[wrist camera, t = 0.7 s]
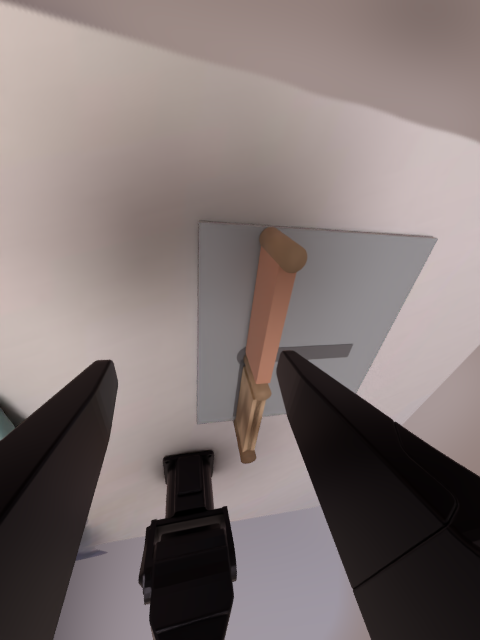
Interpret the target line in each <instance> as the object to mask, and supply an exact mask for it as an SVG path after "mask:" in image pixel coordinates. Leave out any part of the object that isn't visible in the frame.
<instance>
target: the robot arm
mask: <svg viewBox="0 0 480 640" xmlns="http://www.w3.org/2000/svg"><path fill="white" fill-rule="evenodd" d="M276 375H277V379H278V383H279V387H280V391H281V395H282V398H283V402H284V406H285V410H286V414H287V417H288V420H289V423H290V426H291V428H292V431H293V434H294V436H295V439H296V441H297V444H298V447H299V449H300V452H301V455H302V457H303V460H304V463H305V465H306V468H307V471H308V473H309V476H310V478H311V481H312V484H313V486H314V489H315V492H316V494H317V497H318V500H319V502H320V505H321V507H322V510H323V513H324V515H325V518H326V521H327V523H328V526H329V529H330V531H331V534H332V536H333V539H334V542H335V544H336V547H337V550H338V552H339V555H340V558H341V560H342V563H343V566H344V568H345V571H346V574H347V576H348V579H349V582H350V584H351V587H352V588H353V592H354V595H355V598H356V601H357V603H358V606H359V608H360V611H361V614H362V616H363V619H364V622H365V624H366V627H367V630H368V632H369V635H370V638H371V640H480V477H479V476H478V475H476V474H475V473H473V472H472V471H470V470H468V469H467V468H465V467H463V466H462V465H460V464H459V463H457V462H455V461H454V460H452V459H451V458H449V457H448V456H446V455H444V454H443V453H441V452H440V451H438V450H436V449H435V448H434V447H432V446H430V445H429V444H428V443H426V442H424V441H423V440H421V439H420V438H419V437H417V436H416V435H414V434H413V433H411V432H410V431H408V430H407V429H406V428H404V427H403V426H401V425H400V424H398V423H397V422H394V421H393V420H392V419H391V418H390V417H388V416H387V415H385V414H384V413H383V412H381V411H380V410H378V409H377V408H375V407H374V406H373V405H371V404H370V403H368V402H367V401H365V400H364V399H363V398H361V397H360V396H358V395H357V394H355V393H354V392H353V391H351V390H350V389H348V388H347V387H345V386H344V385H343V384H341V383H340V382H338V381H337V380H335V379H334V378H333V377H331V376H330V375H328V374H327V373H325V372H324V371H323V370H321V369H320V368H318V367H317V366H315V365H314V364H313V363H311V362H310V361H308V360H307V359H305V358H304V357H303V356H301V355H300V354H298V353H297V352H295V351H293V350H285V351H282V352H281V353H280V356H279V360H278V364H277V368H276ZM117 389H118V380H117V375H116V371H115V367H114V363H113V361H112V360H97V361H95V362H93V363H92V364H91V365H90V366H89V367H87V368H86V369H85V370H84V371H83V372H82V373H80V374H79V375H78V376H77V377H76V378H74V379H73V380H72V381H71V382H70V383H68V384H67V385H66V386H65V387H64V388H62V389H61V390H60V391H59V392H58V393H57V394H55V395H54V396H53V397H52V398H51V399H49V400H48V401H47V402H46V403H45V404H43V405H42V406H41V407H40V408H39V409H37V410H36V411H35V412H34V413H33V414H31V415H30V416H29V417H28V418H27V419H26V420H24V421H23V422H22V423H21V424H20V425H18V426H17V427H16V428H15V429H14V430H12V431H11V432H10V433H9V434H8V435H6V436H5V437H4V438H3V439H2V440H0V640H53V638H54V634H55V631H56V627H57V624H58V620H59V617H60V613H61V609H62V606H63V602H64V599H65V595H66V591H67V588H68V585H69V581H70V577H71V574H72V570H73V567H74V563H75V560H76V556H77V553H78V549H79V546H80V542H81V538H82V535H83V531H84V528H85V524H86V521H87V517H88V514H89V510H90V507H91V503H92V499H93V496H94V492H95V489H96V485H97V482H98V478H99V475H100V471H101V468H102V464H103V460H104V457H105V453H106V450H107V446H108V442H109V438H110V433H111V427H112V420H113V414H114V408H115V401H116V395H117ZM213 461H214V452H213V451H207V452H200V453H192V454H185V455H178V456H171V457H165V458H164V459H163V467H164V474H165V482H166V484H167V495H166V516H165V519H160V520H157V519H155V520H152V521H151V525H150V526H149V527H147V528H146V538H145V546H144V552H143V557H142V563H141V568H140V573H139V584H140V585H141V587H142V588H143V595H144V604H145V605H146V604H150V615H149V621H150V626H151V631H152V636H153V640H224V638H225V635H226V630H227V626H228V622H229V617H230V613H231V608H232V604H233V599H234V593H233V584H232V582H234V581H236V578H237V570H236V557H235V548H234V542H233V537H232V531H231V526H230V520H229V515H228V509H227V506H224V507H222V508H218V509H214V503H213V492H212V481H211V477H212V473H213Z"/></svg>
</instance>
